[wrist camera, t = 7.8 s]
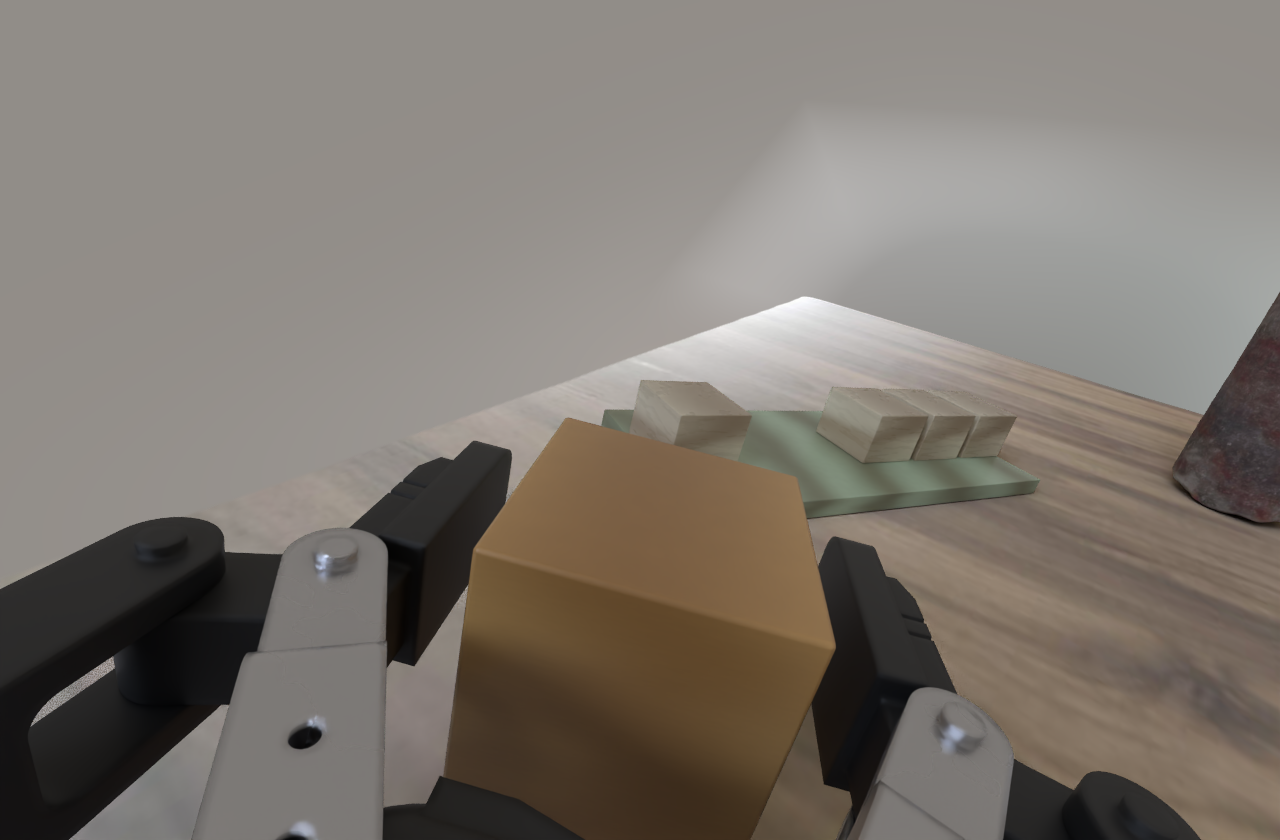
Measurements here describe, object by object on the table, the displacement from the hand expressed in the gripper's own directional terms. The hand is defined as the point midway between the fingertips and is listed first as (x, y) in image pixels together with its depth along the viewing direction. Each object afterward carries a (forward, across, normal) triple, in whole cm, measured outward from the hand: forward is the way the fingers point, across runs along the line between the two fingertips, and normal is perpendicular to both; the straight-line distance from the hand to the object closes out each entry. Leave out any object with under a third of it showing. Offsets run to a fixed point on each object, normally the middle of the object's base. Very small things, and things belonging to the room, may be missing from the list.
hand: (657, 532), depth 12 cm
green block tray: (+23, -10, +7) cm, 26 cm away
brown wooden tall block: (-2, 0, +7) cm, 7 cm away
